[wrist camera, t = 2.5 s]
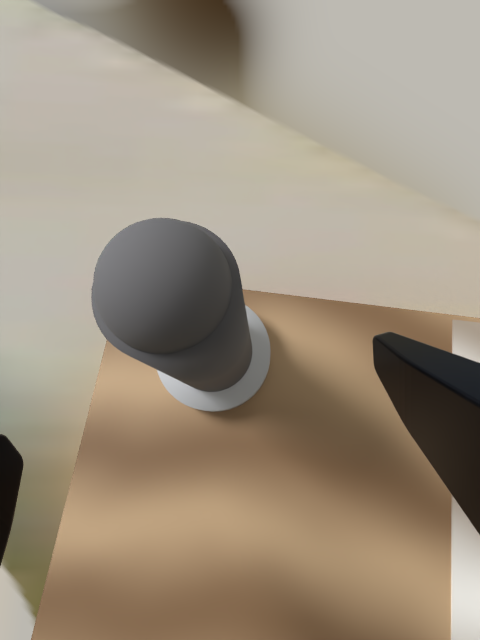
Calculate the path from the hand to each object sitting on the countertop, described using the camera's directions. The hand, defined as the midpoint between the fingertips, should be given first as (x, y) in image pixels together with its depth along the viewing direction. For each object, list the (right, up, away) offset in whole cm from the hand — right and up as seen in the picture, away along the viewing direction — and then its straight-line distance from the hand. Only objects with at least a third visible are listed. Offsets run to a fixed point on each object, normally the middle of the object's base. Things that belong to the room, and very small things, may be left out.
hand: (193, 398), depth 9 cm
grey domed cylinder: (0, 0, +9) cm, 9 cm away
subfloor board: (+5, -6, +8) cm, 11 cm away
